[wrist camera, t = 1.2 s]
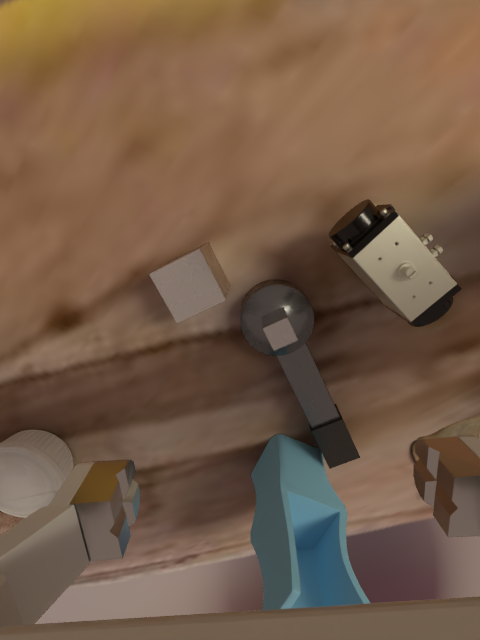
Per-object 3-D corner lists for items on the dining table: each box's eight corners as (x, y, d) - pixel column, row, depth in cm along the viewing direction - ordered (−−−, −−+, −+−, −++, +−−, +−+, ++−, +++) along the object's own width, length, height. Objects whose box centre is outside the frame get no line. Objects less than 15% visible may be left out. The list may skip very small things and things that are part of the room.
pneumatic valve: (379, 305, 40) (431, 342, 28) (311, 232, 37) (339, 241, 26) (418, 271, 38) (490, 296, 27) (351, 194, 36) (398, 185, 25)
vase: (327, 451, 46) (382, 621, 27) (301, 493, 48) (335, 678, 29) (274, 431, 45) (292, 590, 26) (250, 475, 47) (250, 651, 28)
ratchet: (292, 267, 38) (302, 280, 31) (366, 434, 45) (388, 476, 38) (229, 297, 40) (225, 315, 33) (310, 455, 46) (321, 500, 39)
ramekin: (53, 500, 50) (31, 533, 45) (-13, 456, 48) (-44, 485, 43) (97, 455, 47) (79, 484, 42) (29, 406, 45) (1, 430, 40)
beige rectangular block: (208, 242, 38) (199, 248, 31) (230, 285, 39) (226, 300, 32) (166, 263, 39) (148, 274, 32) (189, 304, 40) (176, 323, 33)
